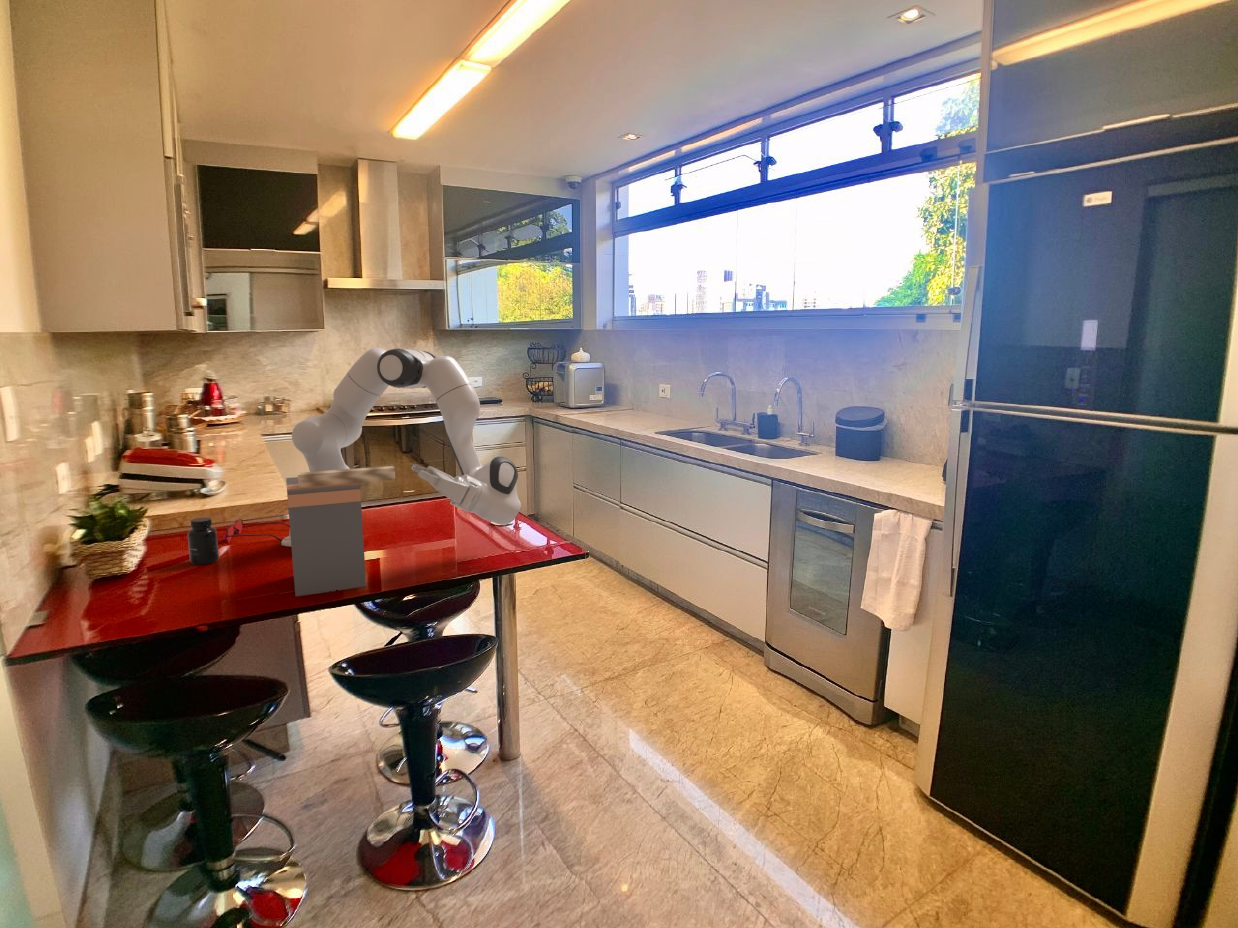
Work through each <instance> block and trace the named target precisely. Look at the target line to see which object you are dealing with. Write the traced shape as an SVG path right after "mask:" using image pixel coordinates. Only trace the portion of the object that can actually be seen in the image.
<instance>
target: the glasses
mask: <svg viewBox="0 0 1238 928" xmlns="http://www.w3.org/2000/svg"><path fill="white" fill-rule="evenodd" d="M234 521H235V522H234V523H233V524H229V526H228V527H227V528H226V535H225V534H224V535H223V538H224V539H225V538H226V541H227V543H230V541H231V540H232V538H233V537H235V538H237V537H255V536H257V537H261V536H270V537H273V538H275V539H276V540H277V541H279V542H282V540H283V539H282V538H280V537H277V536H275V535H273V534H271V533H270V534H269V533H265V534H264V533H263V534H241V533H242V530H243V526H249V525H250V526H252V525H253V526H255V525H277V524H280V525H281V524H282V525H285V526H287V527H289V528H290V524H288V523H285V522H262V523H260V522H258V523H256V522H255V523H243V519H242V518H239V519H237V520H234ZM234 529H235V530H234ZM237 533H238V534H237Z"/></svg>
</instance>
